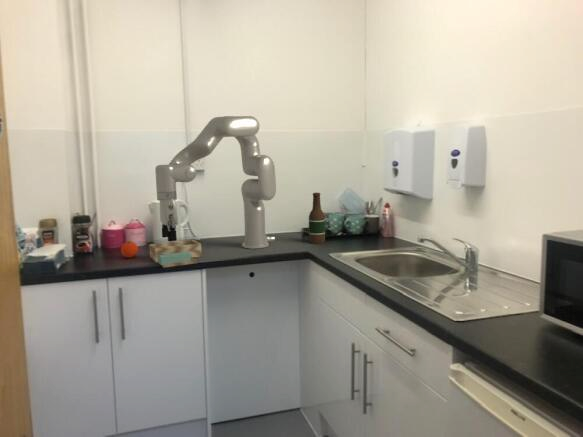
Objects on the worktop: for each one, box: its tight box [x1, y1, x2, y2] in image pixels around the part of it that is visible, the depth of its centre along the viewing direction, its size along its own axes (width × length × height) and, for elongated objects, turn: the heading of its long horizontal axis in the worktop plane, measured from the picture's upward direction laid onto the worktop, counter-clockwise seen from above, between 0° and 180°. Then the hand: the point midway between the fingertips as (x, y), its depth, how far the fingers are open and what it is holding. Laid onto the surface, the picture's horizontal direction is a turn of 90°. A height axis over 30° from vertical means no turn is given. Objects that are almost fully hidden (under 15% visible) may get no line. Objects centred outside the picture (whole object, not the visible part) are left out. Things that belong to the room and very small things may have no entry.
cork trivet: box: [159, 257, 199, 268], centre depth 189 cm, size 14×9×1 cm, turn 119°
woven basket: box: [148, 239, 203, 263], centre depth 200 cm, size 19×12×6 cm, turn 119°
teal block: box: [157, 252, 191, 266], centre depth 187 cm, size 12×4×3 cm, turn 121°
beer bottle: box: [308, 192, 326, 245], centre depth 224 cm, size 8×8×24 cm
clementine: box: [120, 241, 139, 259], centre depth 200 cm, size 8×7×7 cm
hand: (169, 238), depth 186 cm, fingers open, 9 cm apart
